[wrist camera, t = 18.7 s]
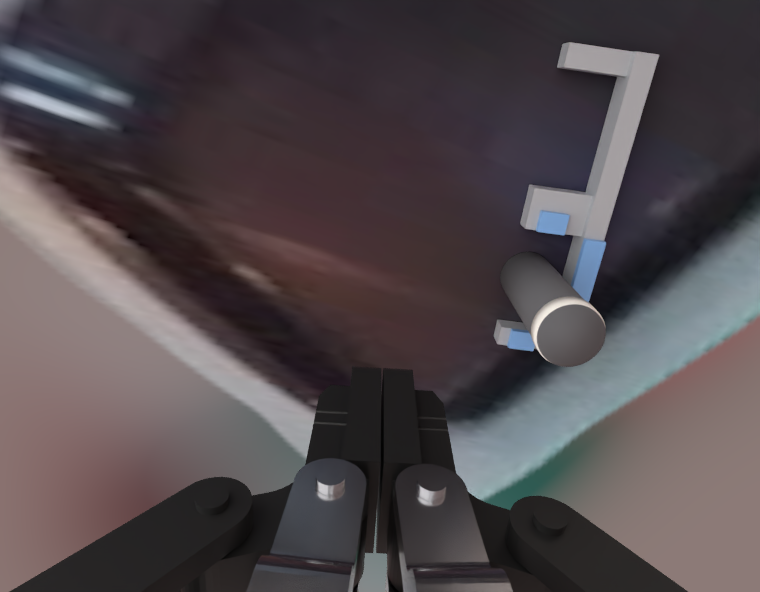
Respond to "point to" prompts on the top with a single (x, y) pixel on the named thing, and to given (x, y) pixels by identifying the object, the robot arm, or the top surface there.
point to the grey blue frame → (595, 206)
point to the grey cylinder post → (552, 311)
